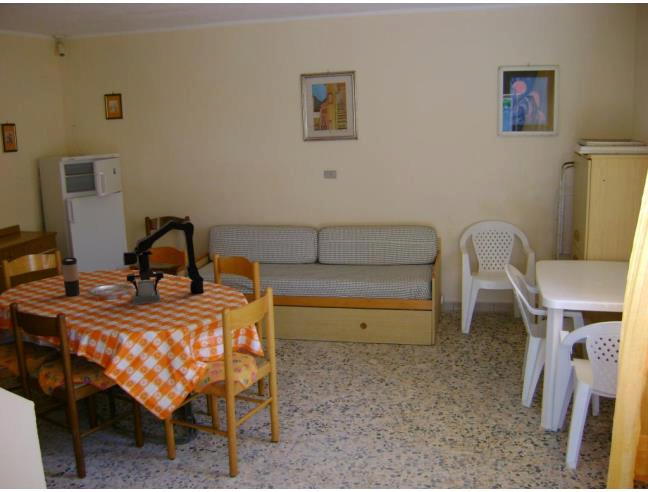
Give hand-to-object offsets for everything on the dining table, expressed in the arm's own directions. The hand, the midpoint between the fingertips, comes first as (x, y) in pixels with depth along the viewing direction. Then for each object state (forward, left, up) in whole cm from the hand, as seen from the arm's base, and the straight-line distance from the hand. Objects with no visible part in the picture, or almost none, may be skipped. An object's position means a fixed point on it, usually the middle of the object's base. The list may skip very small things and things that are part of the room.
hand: (146, 291), depth 353 cm
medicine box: (0, 0, -3) cm, 3 cm away
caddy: (0, 0, -4) cm, 4 cm away
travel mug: (+39, -21, -4) cm, 45 cm away
